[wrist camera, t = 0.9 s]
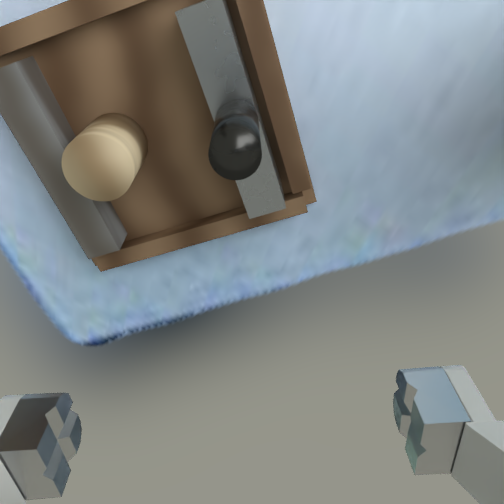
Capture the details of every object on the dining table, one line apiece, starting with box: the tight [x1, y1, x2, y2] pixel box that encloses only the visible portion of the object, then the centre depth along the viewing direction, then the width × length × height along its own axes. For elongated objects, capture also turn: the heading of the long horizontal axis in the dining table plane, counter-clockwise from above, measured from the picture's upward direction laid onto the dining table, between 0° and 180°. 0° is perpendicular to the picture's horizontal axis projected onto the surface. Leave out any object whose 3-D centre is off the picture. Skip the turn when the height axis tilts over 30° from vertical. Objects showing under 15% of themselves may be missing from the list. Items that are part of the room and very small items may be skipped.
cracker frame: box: [0, 0, 317, 272], centre depth 36 cm, size 22×21×4 cm
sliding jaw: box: [175, 0, 286, 219], centre depth 30 cm, size 3×15×12 cm, turn 18°
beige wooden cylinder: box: [61, 113, 148, 201], centre depth 34 cm, size 5×5×6 cm
